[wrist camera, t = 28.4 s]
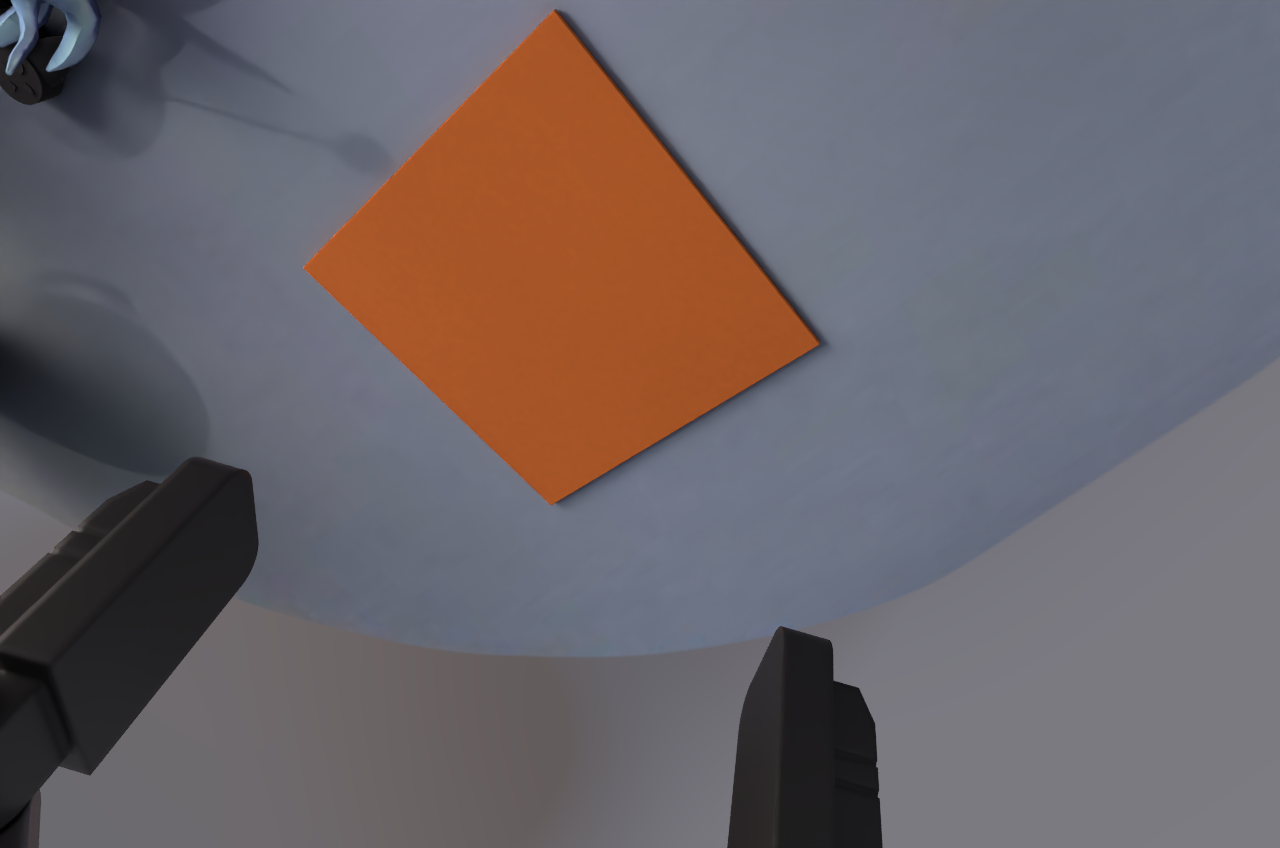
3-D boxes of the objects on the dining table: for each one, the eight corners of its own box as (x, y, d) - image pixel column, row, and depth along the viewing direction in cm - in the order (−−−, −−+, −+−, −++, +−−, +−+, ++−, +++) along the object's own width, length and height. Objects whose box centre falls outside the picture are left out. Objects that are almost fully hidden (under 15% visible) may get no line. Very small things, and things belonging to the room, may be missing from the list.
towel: (819, 341, 38) (819, 344, 38) (552, 502, 47) (550, 505, 46) (555, 9, 32) (553, 10, 32) (305, 265, 41) (302, 267, 40)
